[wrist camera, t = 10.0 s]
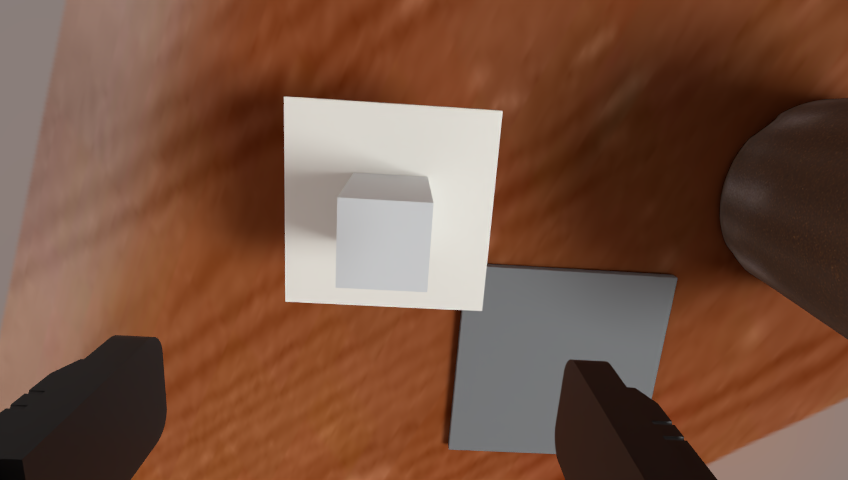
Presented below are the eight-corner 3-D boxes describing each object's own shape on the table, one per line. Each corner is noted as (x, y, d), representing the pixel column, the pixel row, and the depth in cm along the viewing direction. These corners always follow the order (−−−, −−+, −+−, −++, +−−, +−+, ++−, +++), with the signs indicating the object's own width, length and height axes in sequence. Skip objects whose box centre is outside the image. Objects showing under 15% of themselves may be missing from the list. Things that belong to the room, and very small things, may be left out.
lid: (499, 110, 25) (532, 117, 18) (479, 303, 28) (502, 371, 21) (288, 96, 25) (243, 98, 18) (289, 294, 27) (251, 360, 21)
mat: (673, 274, 35) (677, 277, 35) (635, 451, 39) (638, 457, 38) (465, 262, 35) (466, 265, 34) (448, 443, 38) (448, 449, 38)
